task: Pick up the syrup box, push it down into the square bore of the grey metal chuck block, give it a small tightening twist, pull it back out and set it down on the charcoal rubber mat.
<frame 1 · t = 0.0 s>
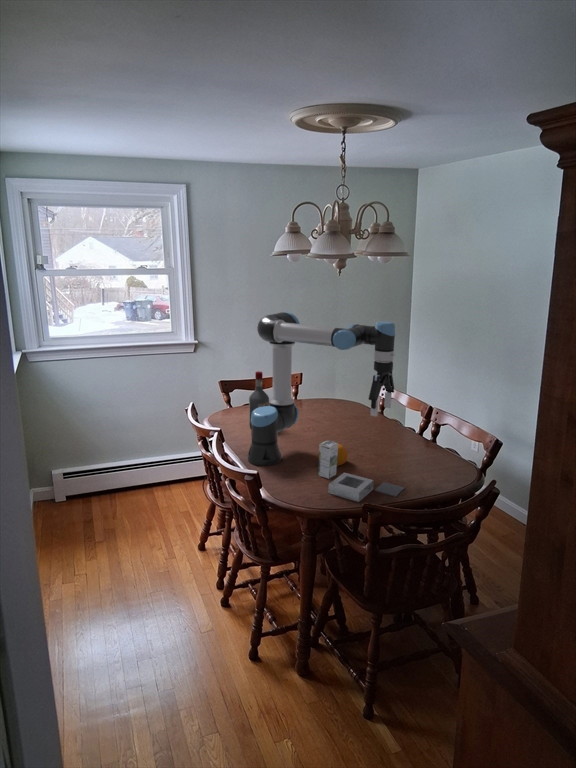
hand: (380, 411, 216), 28 cm above the table, fingers open, 13 cm apart
syrup box: (327, 475, 222), on the table
liquor: (259, 427, 280), on the table
chuck block: (350, 491, 207), on the table
mat: (389, 489, 209), on the table
fruit: (333, 463, 235), on the table
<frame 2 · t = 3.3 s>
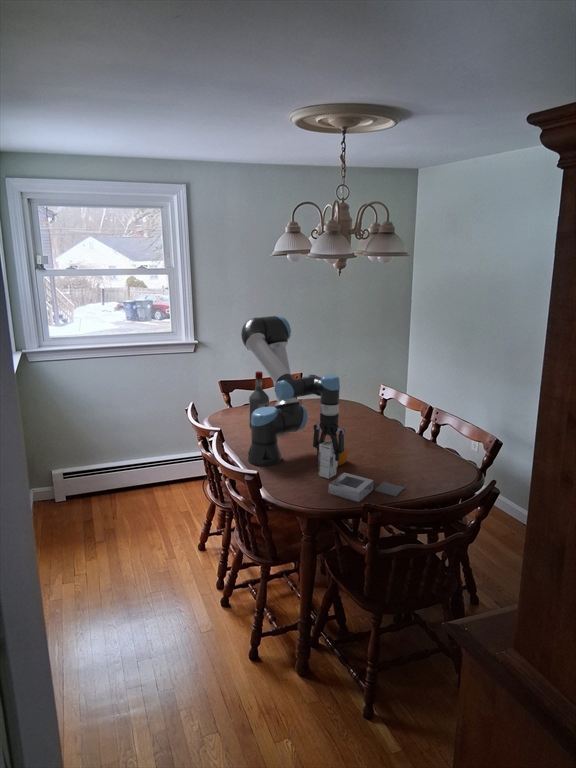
hand: (327, 465, 221), 4 cm above the table, fingers closed on syrup box, 6 cm apart
syrup box: (327, 475, 222), on the table, touching gripper
everything else where it was.
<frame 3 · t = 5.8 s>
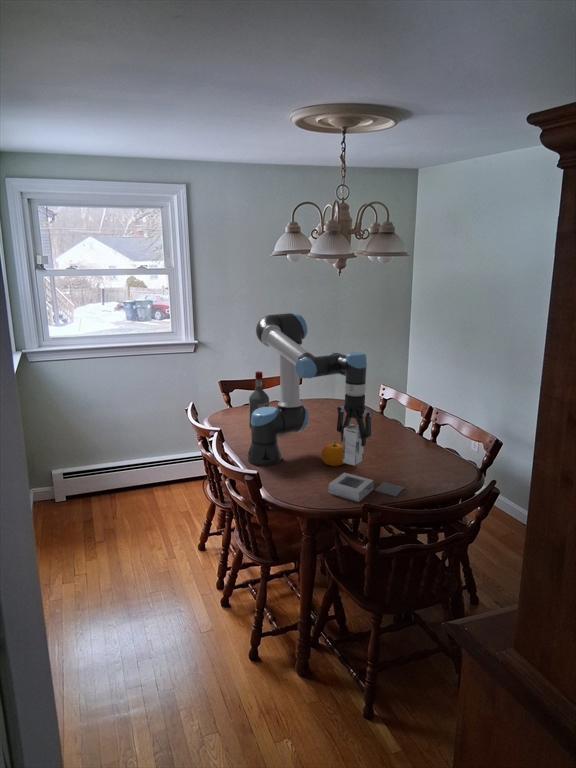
hand: (353, 451, 203), 17 cm above the table, fingers closed on syrup box, 6 cm apart
syrup box: (352, 462, 204), point 12 cm above the table, touching gripper
everything else where it was.
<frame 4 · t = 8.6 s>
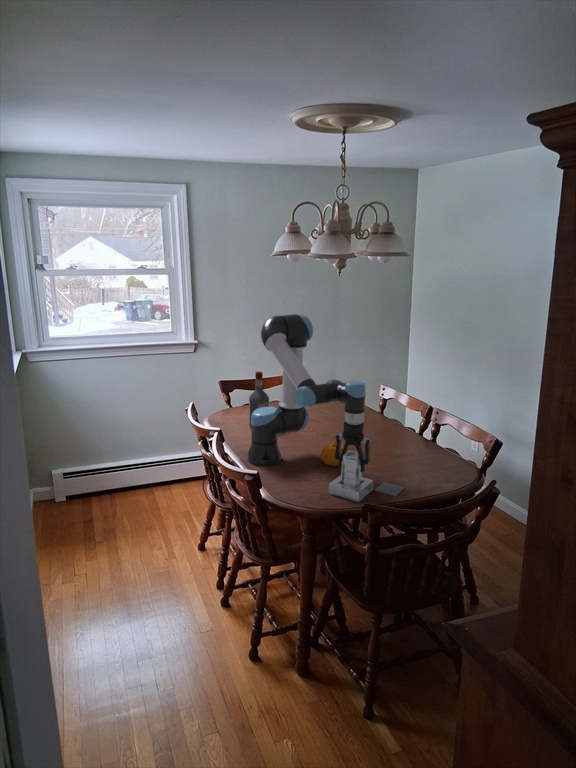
hand: (351, 477, 206), 6 cm above the table, fingers closed on syrup box, 6 cm apart
syrup box: (351, 488, 207), point 1 cm above the table, touching gripper
everything else where it was.
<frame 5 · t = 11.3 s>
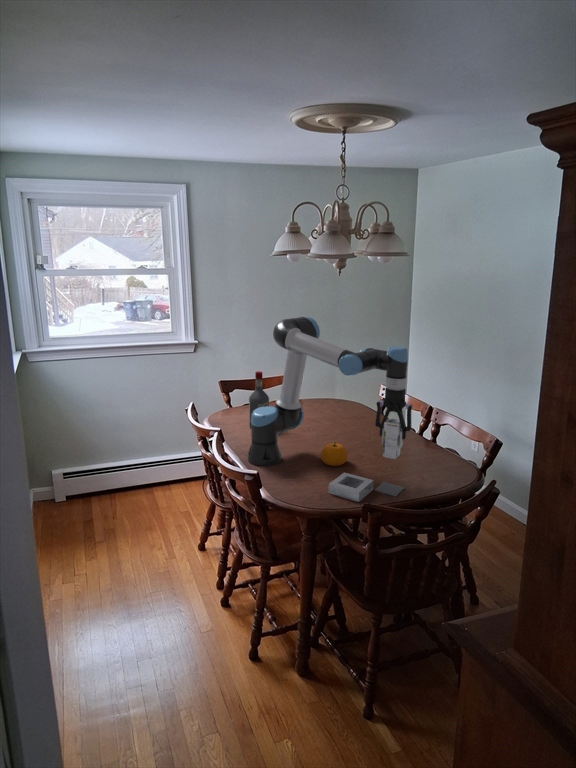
hand: (392, 445, 204), 19 cm above the table, fingers closed on syrup box, 6 cm apart
syrup box: (391, 456, 205), point 14 cm above the table, touching gripper
everything else where it was.
when the fingers open (6 cm above the table, at t = 14.0 s): syrup box moves 1 cm, resting on mat.
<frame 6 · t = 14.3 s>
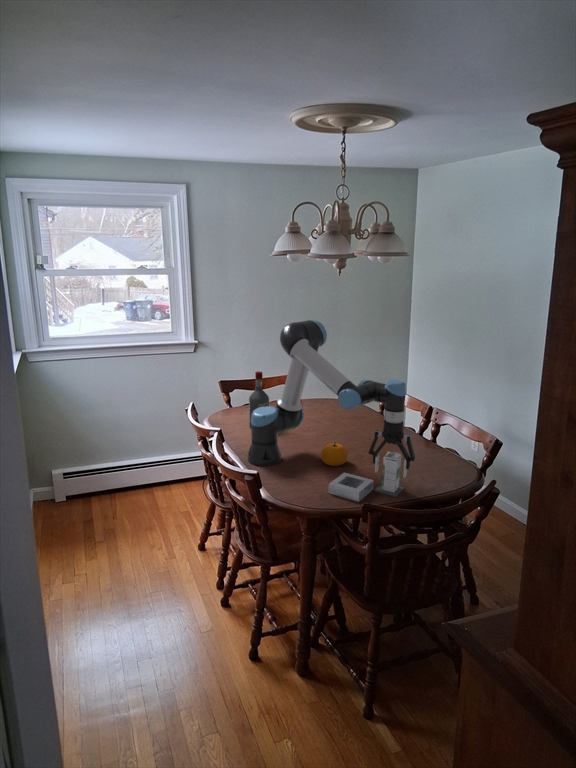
hand: (390, 473, 207), 7 cm above the table, fingers open, 10 cm apart
syrup box: (390, 489, 209), resting on mat
everything else where it was.
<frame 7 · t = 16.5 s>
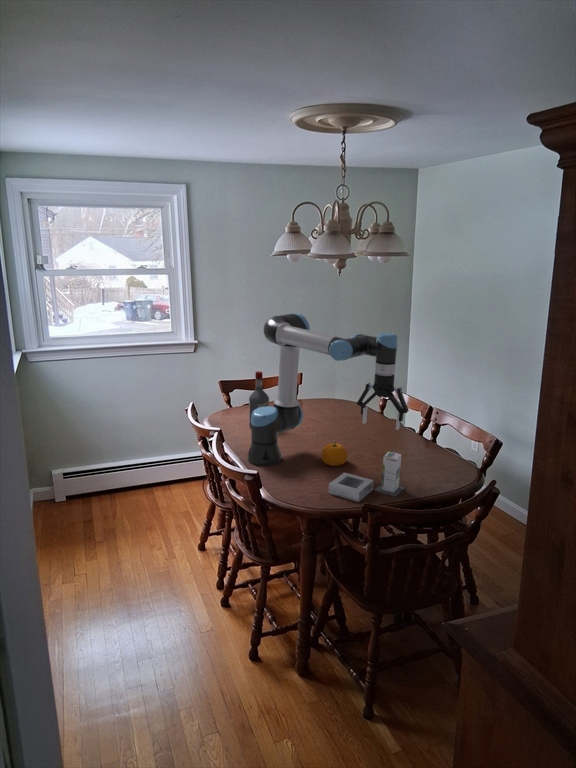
hand: (380, 425, 208), 25 cm above the table, fingers open, 13 cm apart
nothing on the table moved.
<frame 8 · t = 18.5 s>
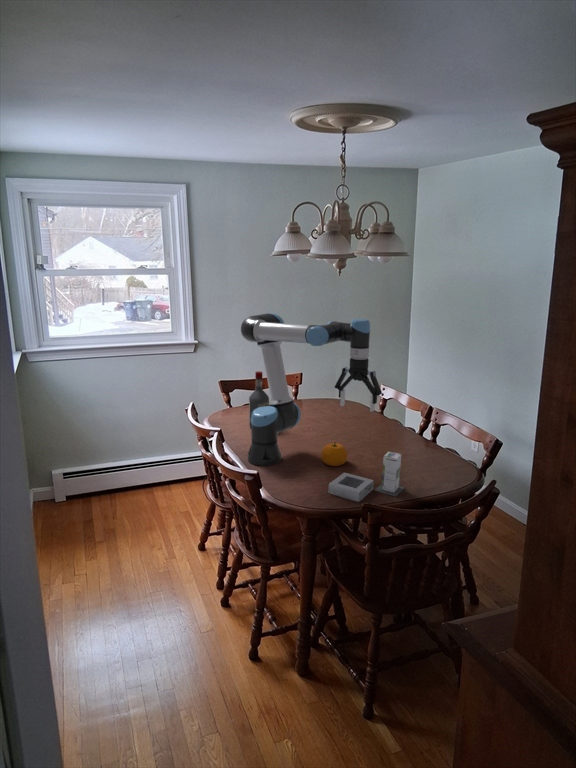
hand: (357, 408, 218), 29 cm above the table, fingers open, 13 cm apart
nothing on the table moved.
at the end: syrup box inside the target area on the mat (0.2 cm from its centre), point 0.2 cm above the mat's base; syrup box tilted 0°; the gripper is holding nothing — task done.
